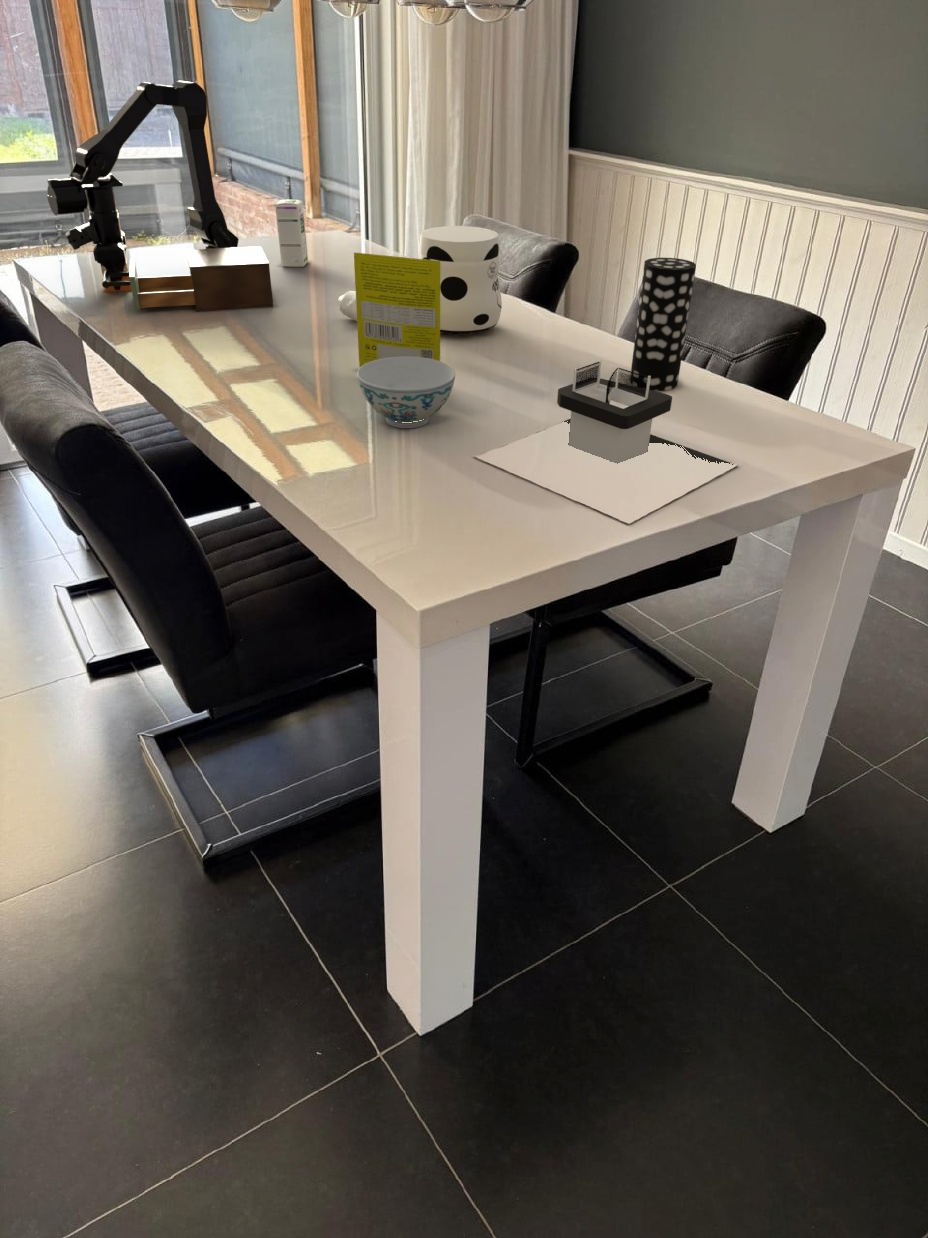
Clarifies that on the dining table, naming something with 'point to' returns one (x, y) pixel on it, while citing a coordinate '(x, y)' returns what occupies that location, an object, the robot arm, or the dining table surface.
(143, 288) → the drawer
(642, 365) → the white-spotted black cylinder
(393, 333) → the food package
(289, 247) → the syrup box
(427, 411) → the chinaware
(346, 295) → the roll
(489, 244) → the milk container
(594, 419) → the black-topped pedestal
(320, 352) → the dining table surface
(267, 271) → the organizer
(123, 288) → the snack box
